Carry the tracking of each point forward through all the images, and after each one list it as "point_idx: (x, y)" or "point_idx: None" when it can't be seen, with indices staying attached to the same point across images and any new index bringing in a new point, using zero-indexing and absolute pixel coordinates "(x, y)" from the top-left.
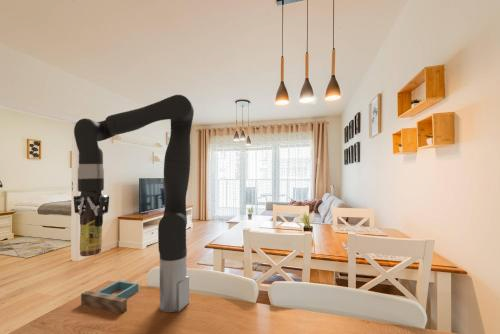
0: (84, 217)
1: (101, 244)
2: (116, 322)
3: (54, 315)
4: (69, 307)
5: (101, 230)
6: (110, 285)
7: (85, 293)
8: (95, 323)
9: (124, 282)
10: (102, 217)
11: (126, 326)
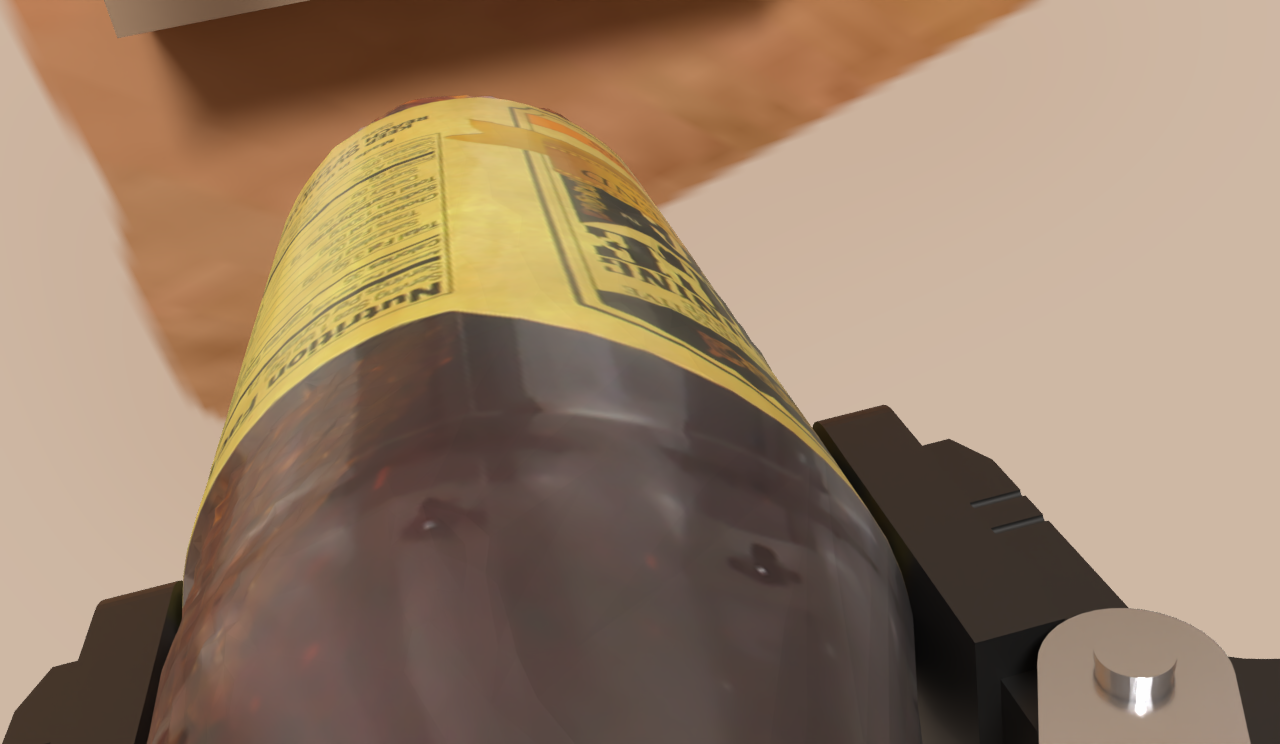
0: None
1: (611, 156)
2: (824, 11)
3: (154, 256)
4: (96, 110)
5: (705, 285)
6: None
7: (172, 11)
8: (662, 117)
9: None
10: (1097, 585)
11: (955, 2)
